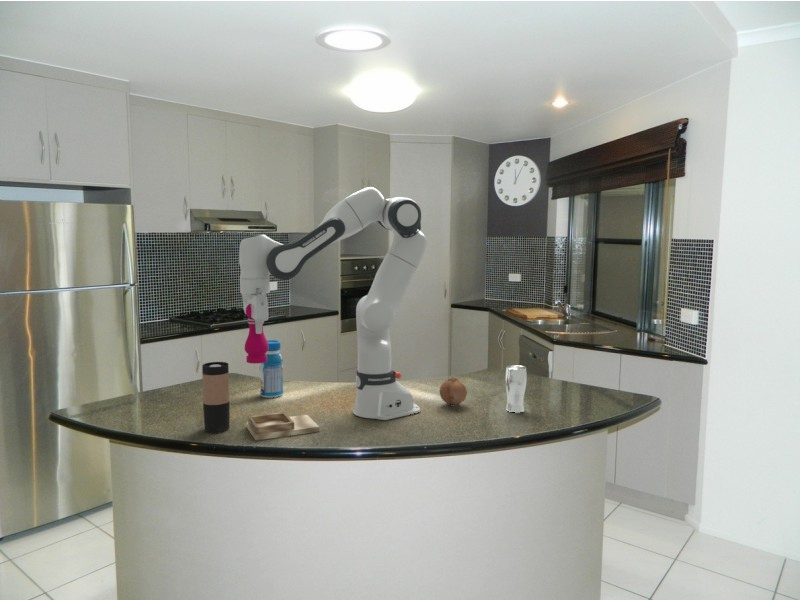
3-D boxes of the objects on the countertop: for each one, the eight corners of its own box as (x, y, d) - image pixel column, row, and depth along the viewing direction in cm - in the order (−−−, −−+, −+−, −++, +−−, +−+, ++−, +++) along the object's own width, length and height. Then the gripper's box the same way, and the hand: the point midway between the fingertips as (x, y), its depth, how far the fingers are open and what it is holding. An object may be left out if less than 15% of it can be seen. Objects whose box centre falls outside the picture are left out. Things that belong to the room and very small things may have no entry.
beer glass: (508, 406, 202) (510, 364, 200) (528, 409, 198) (529, 366, 196) (501, 411, 196) (502, 368, 194) (521, 415, 192) (522, 370, 190)
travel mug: (199, 429, 176) (197, 364, 174) (222, 423, 181) (221, 360, 179) (211, 435, 171) (209, 368, 169) (235, 429, 176) (233, 364, 174)
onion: (443, 400, 208) (443, 373, 207) (469, 403, 205) (469, 375, 204) (436, 407, 200) (436, 379, 198) (462, 410, 196) (463, 381, 195)
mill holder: (306, 419, 186) (306, 408, 186) (319, 431, 175) (319, 420, 174) (246, 427, 178) (246, 416, 178) (255, 440, 167) (255, 428, 166)
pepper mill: (262, 364, 177) (260, 299, 174) (240, 363, 178) (238, 298, 176) (272, 359, 184) (271, 296, 181) (251, 358, 185) (249, 296, 183)
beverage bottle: (272, 399, 208) (271, 344, 206) (255, 396, 212) (253, 342, 210) (288, 394, 216) (287, 340, 213) (271, 391, 220) (270, 338, 218)
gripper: (273, 289, 170) (274, 336, 172) (258, 284, 189) (259, 326, 190) (251, 290, 168) (252, 338, 169) (238, 285, 186) (240, 328, 188)
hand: (256, 332), depth 180 cm, fingers closed on pepper mill, 5 cm apart
